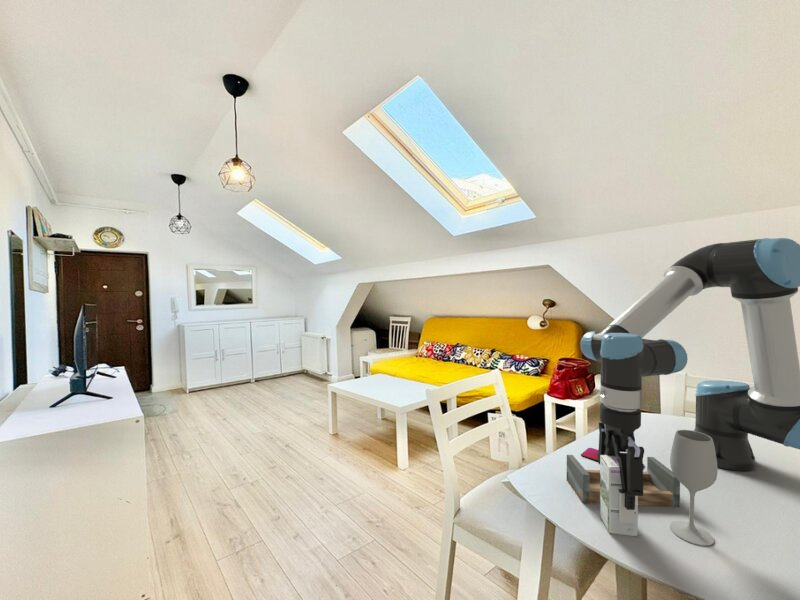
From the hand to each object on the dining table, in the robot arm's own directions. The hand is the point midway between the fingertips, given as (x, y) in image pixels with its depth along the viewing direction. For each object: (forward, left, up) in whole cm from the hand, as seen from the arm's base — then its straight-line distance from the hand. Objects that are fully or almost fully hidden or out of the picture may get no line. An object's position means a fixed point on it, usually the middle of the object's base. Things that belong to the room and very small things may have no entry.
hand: (617, 511), depth 77 cm
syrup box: (0, 0, -4) cm, 4 cm away
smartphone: (-13, -30, -4) cm, 33 cm away
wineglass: (-14, +1, -4) cm, 15 cm away
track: (-7, -13, -3) cm, 15 cm away
